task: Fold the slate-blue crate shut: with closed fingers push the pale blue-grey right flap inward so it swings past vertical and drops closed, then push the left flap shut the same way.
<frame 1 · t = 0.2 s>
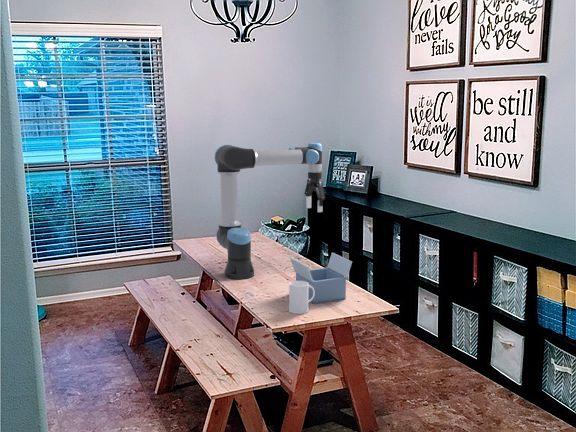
hand: (314, 210, 333), 28 cm above the table, fingers open, 13 cm apart
flap left: (301, 269, 268), point 14 cm above the table, hinge at 110.1°
crate: (320, 295, 275), on the table
flap right: (339, 264, 276), point 14 cm above the table, hinge at 110.1°
mug: (302, 310, 256), on the table
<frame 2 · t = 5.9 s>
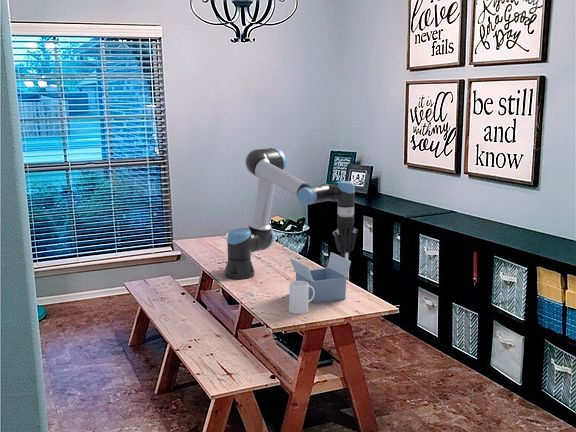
hand: (345, 265, 278), 13 cm above the table, fingers closed
flap right: (338, 264, 276), point 14 cm above the table, hinge at 104.6°, touching gripper
everything else where it was.
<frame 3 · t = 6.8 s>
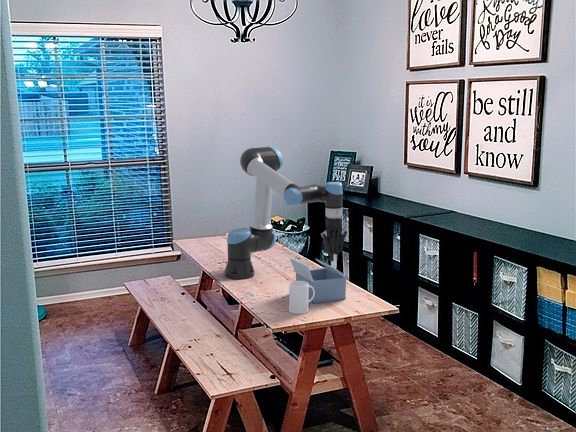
hand: (333, 267, 275), 12 cm above the table, fingers closed
flap right: (330, 267, 274), point 13 cm above the table, hinge at 36.0°
everything else where it was.
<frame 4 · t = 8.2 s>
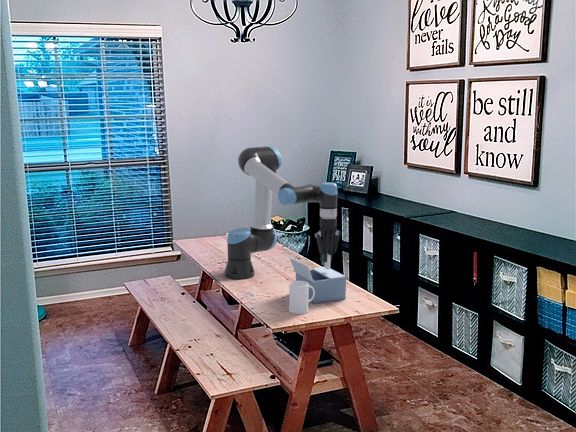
hand: (327, 268, 274), 12 cm above the table, fingers closed
flap right: (328, 272, 274), point 10 cm above the table, hinge at -0.3°
everything else where it was.
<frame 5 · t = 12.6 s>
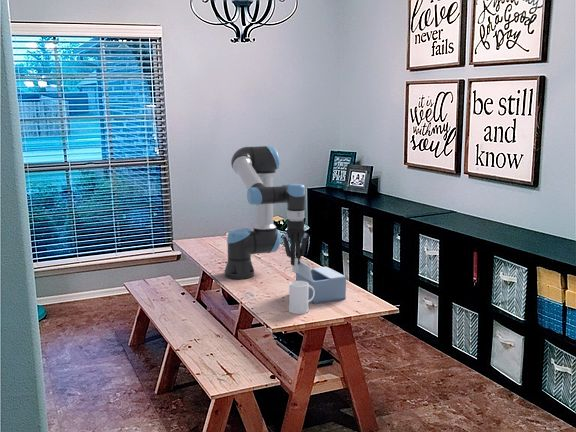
hand: (295, 272, 267), 13 cm above the table, fingers closed
flap left: (301, 269, 268), point 14 cm above the table, hinge at 105.7°, touching gripper
everything else where it was.
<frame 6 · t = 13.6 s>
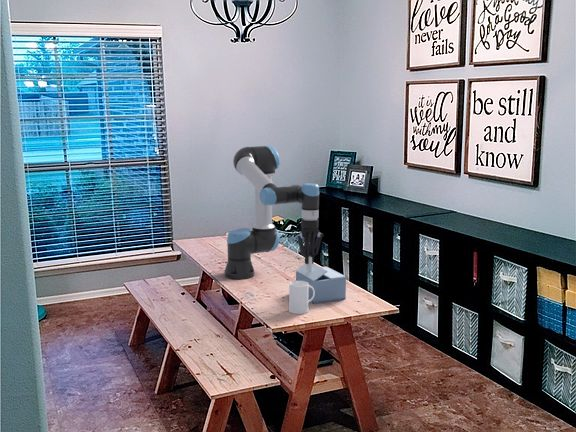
hand: (309, 270, 270), 13 cm above the table, fingers closed
flap left: (311, 271, 270), point 12 cm above the table, hinge at 28.8°
everything else where it was.
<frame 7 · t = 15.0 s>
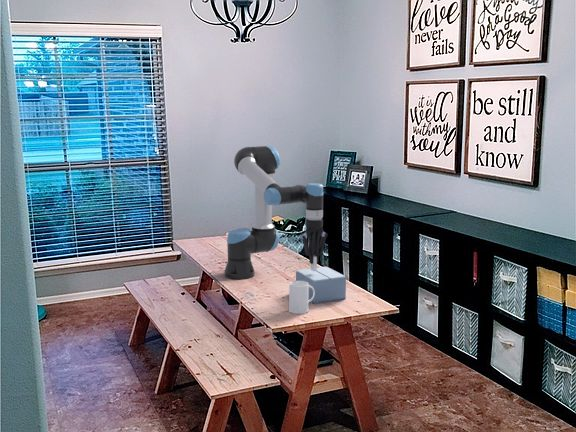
hand: (313, 270, 271), 12 cm above the table, fingers closed
flap left: (312, 274, 271), point 10 cm above the table, hinge at -0.3°
everything else where it was.
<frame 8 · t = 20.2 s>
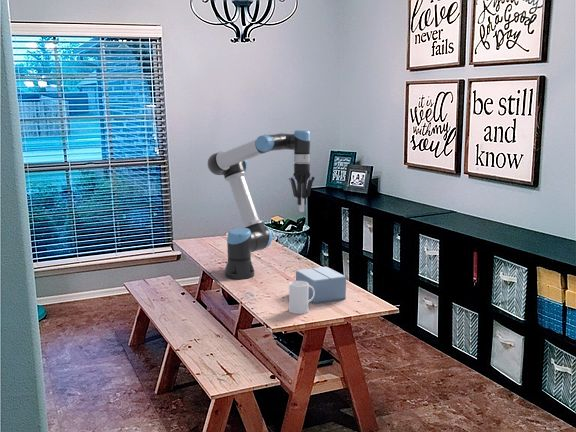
hand: (301, 211, 293), 34 cm above the table, fingers closed
nothing on the table moved.
at the end: flap right at +0° (first picture: +110°); flap left at +0° (first picture: +110°) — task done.
